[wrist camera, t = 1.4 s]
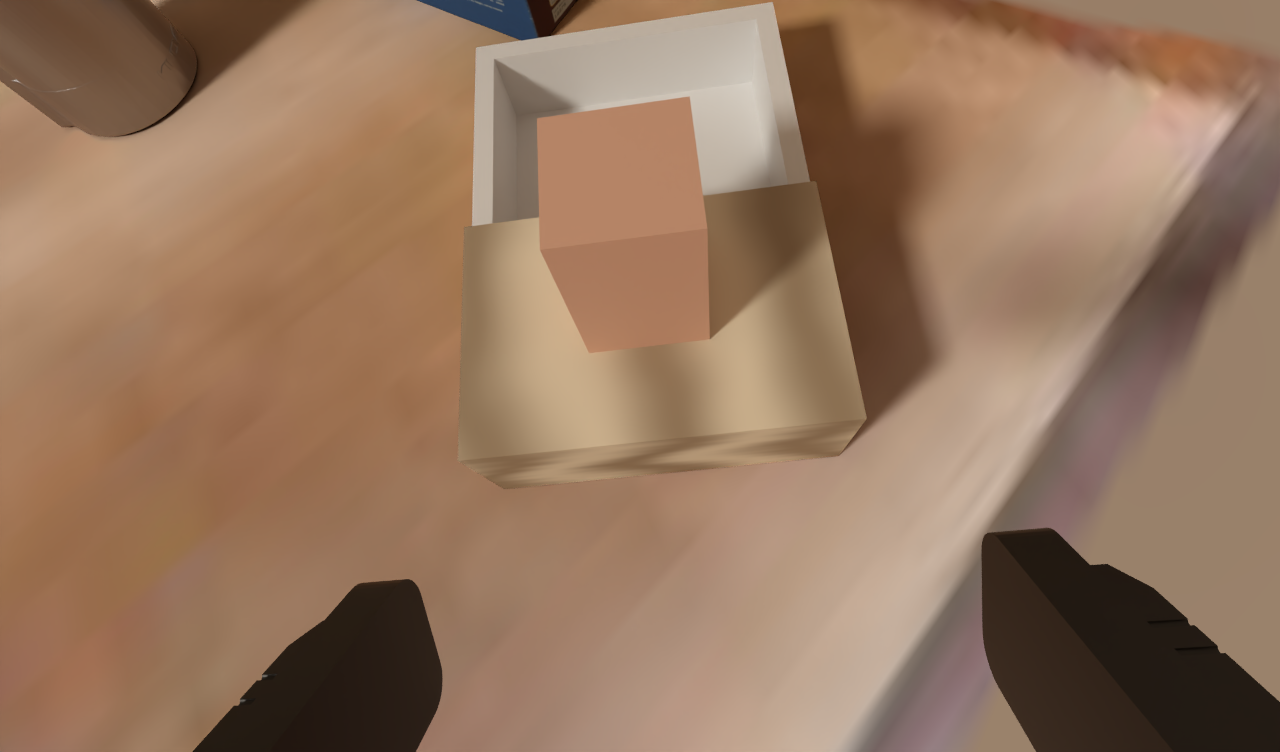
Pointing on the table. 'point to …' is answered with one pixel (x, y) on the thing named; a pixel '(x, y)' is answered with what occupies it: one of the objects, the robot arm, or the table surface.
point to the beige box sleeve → (660, 358)
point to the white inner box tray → (640, 100)
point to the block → (626, 223)
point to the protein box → (510, 14)
